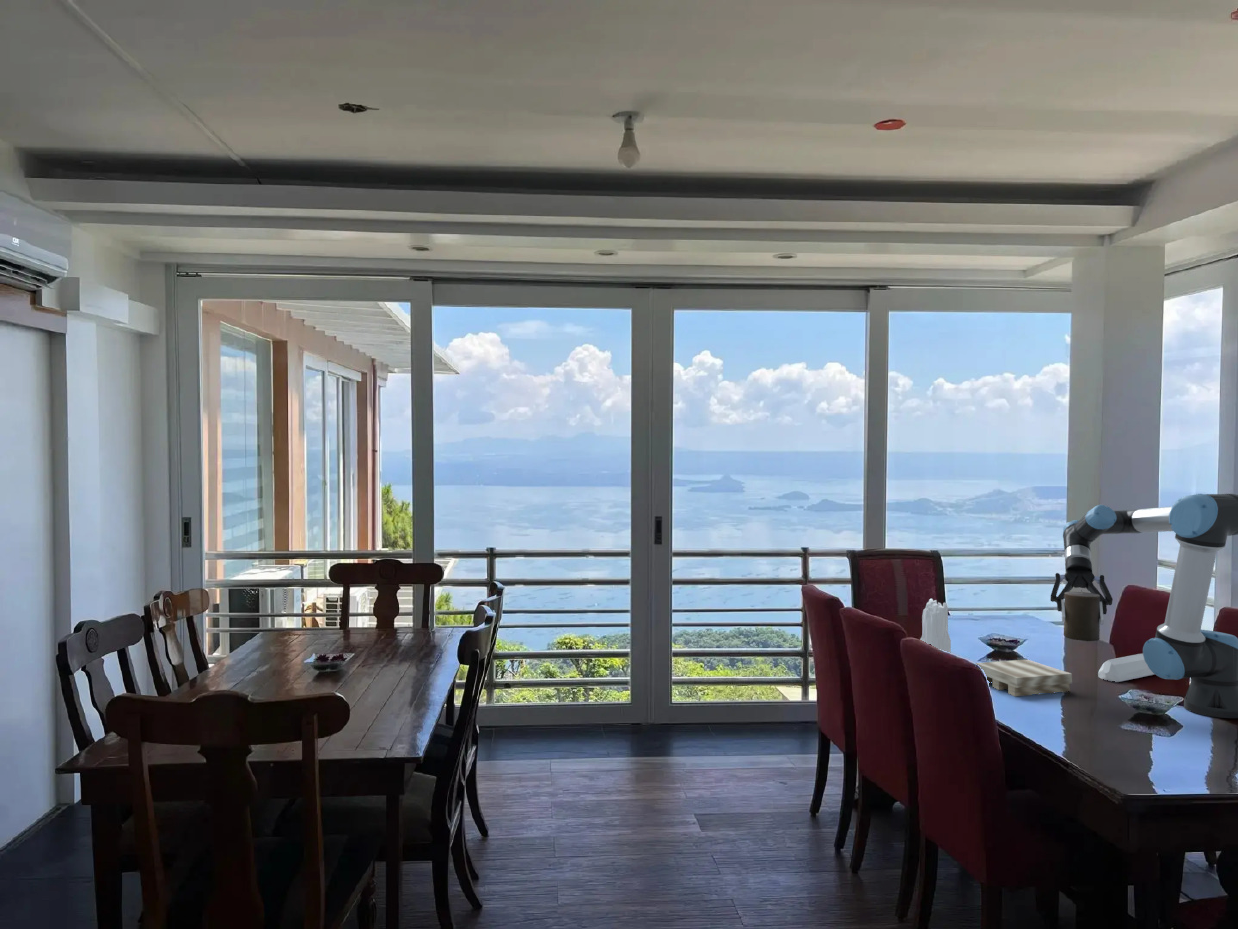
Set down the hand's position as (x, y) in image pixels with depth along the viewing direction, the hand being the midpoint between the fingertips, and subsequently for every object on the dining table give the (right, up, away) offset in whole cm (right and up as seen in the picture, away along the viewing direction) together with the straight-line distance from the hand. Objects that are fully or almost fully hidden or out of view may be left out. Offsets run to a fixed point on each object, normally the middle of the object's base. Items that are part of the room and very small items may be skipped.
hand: (1082, 620), depth 255 cm
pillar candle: (+1, -6, +3) cm, 7 cm away
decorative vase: (-31, -25, +36) cm, 54 cm away
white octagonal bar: (+30, -24, +27) cm, 47 cm away
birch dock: (-11, -24, +15) cm, 31 cm away
